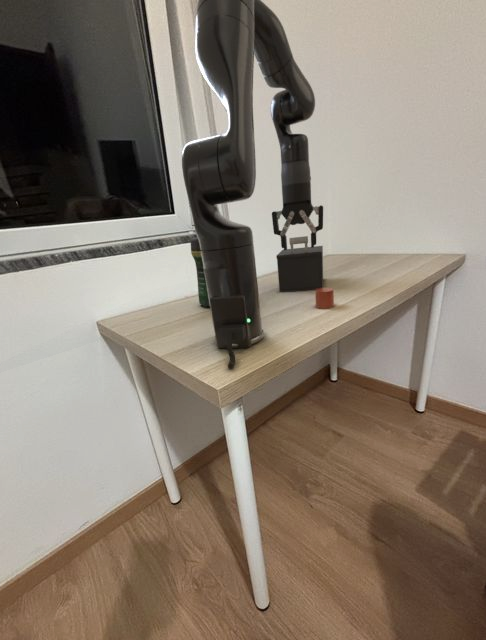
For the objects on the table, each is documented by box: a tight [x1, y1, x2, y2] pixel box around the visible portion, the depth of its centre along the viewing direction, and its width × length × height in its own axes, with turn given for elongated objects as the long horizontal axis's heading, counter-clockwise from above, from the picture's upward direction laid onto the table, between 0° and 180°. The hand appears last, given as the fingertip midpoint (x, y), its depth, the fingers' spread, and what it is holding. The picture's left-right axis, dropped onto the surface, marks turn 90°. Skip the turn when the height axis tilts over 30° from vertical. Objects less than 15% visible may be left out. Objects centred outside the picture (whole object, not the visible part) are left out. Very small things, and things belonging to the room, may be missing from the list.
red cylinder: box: [314, 287, 335, 310], centre depth 73 cm, size 4×4×4 cm
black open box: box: [276, 249, 324, 293], centre depth 94 cm, size 14×13×10 cm
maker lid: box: [276, 235, 324, 259], centre depth 91 cm, size 14×13×5 cm
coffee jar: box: [190, 236, 210, 308], centre depth 85 cm, size 10×8×19 cm
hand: (299, 248), depth 87 cm, fingers open, 7 cm apart
